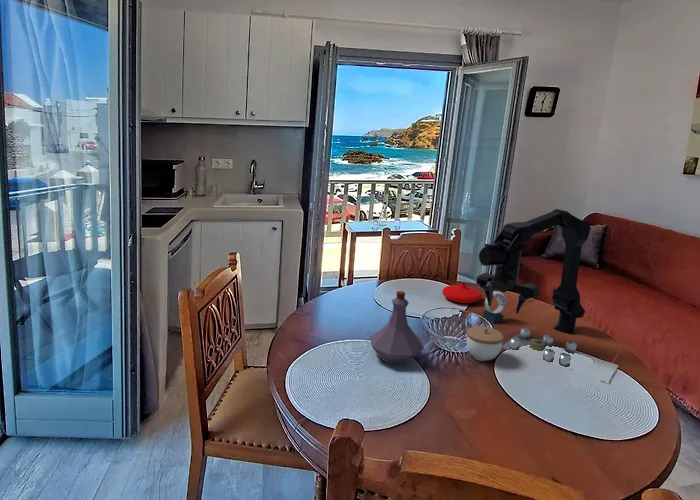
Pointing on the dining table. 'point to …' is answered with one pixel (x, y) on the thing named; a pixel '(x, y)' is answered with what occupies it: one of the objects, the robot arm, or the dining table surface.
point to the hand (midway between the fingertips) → (503, 309)
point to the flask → (397, 335)
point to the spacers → (548, 353)
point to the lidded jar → (484, 342)
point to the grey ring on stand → (495, 315)
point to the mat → (527, 342)
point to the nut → (537, 344)
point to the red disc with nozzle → (462, 293)
